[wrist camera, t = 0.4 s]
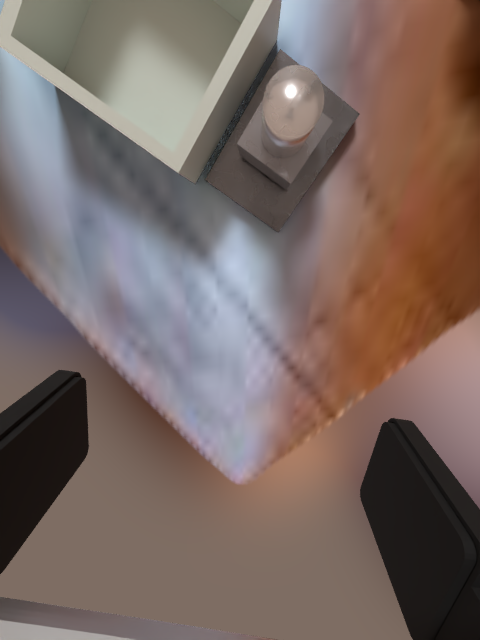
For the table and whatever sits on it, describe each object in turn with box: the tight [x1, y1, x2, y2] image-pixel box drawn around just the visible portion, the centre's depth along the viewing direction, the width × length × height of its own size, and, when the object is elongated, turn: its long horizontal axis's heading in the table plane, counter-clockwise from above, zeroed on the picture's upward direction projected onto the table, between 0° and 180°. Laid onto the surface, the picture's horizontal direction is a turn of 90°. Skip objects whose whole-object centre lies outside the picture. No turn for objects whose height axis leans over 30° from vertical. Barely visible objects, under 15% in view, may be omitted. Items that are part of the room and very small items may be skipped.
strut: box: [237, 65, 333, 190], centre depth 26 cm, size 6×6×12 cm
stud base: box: [205, 49, 359, 232], centre depth 30 cm, size 14×10×6 cm
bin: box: [0, 0, 281, 184], centre depth 28 cm, size 16×18×8 cm
